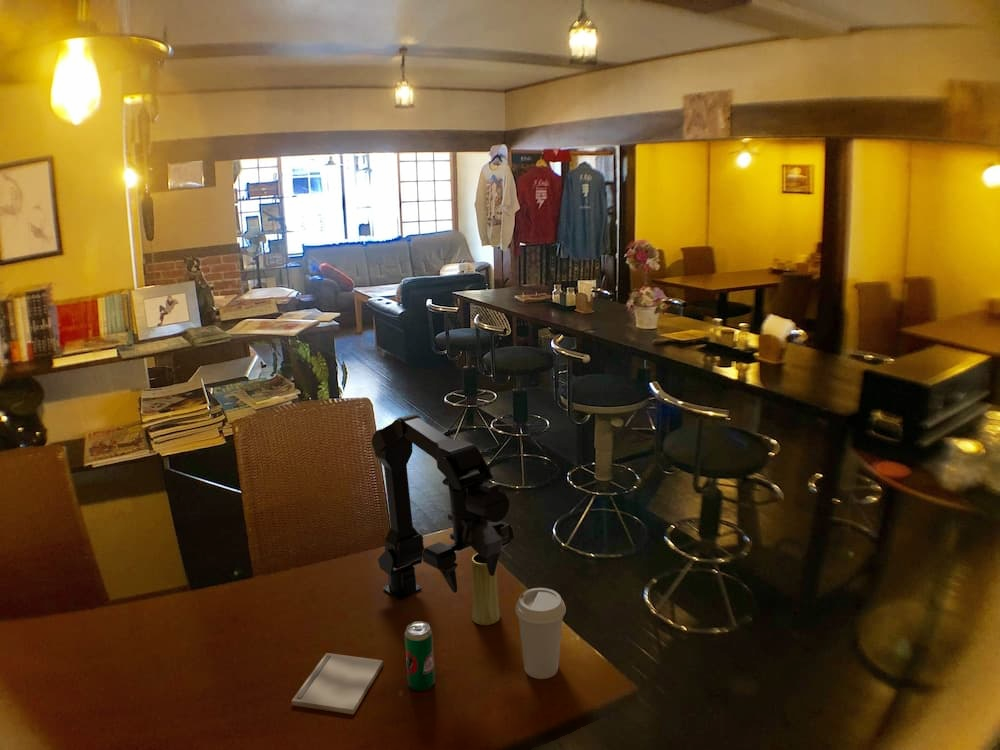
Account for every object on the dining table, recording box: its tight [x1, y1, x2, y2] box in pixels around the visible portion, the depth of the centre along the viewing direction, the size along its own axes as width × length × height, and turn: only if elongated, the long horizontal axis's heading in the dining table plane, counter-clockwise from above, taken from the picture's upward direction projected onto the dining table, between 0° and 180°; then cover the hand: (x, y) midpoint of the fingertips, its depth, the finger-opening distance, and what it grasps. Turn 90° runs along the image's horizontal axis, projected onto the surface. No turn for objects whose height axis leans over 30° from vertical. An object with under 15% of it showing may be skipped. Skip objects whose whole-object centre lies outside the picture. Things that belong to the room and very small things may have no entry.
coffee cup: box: [514, 587, 567, 680], centre depth 140 cm, size 10×10×15 cm
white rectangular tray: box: [291, 652, 384, 715], centre depth 138 cm, size 14×12×1 cm
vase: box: [471, 552, 501, 626], centre depth 157 cm, size 6×6×14 cm
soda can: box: [404, 620, 436, 692], centre depth 137 cm, size 5×5×12 cm
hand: (473, 583), depth 145 cm, fingers open, 9 cm apart
